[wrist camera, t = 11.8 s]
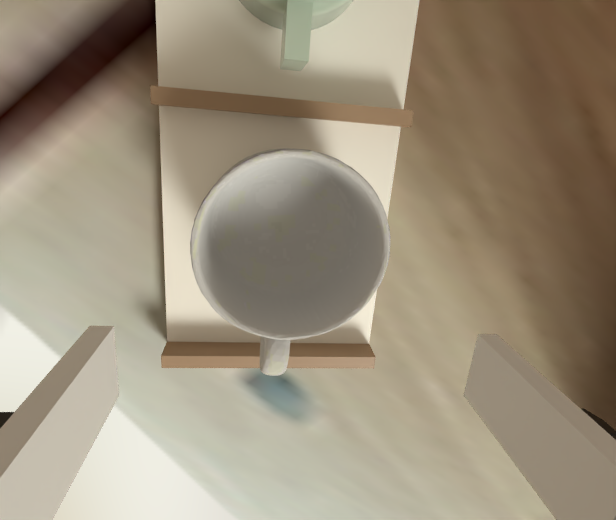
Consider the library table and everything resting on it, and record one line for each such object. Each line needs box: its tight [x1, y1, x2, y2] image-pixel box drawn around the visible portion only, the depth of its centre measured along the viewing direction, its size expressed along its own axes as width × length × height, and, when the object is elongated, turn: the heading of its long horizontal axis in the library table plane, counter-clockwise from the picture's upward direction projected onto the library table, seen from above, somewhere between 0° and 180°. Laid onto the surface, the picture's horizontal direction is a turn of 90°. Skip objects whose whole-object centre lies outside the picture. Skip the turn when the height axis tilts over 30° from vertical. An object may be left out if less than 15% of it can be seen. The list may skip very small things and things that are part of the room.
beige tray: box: [150, 0, 419, 368], centre depth 26 cm, size 16×37×3 cm, turn 175°
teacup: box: [190, 148, 390, 375], centre depth 25 cm, size 14×11×8 cm
